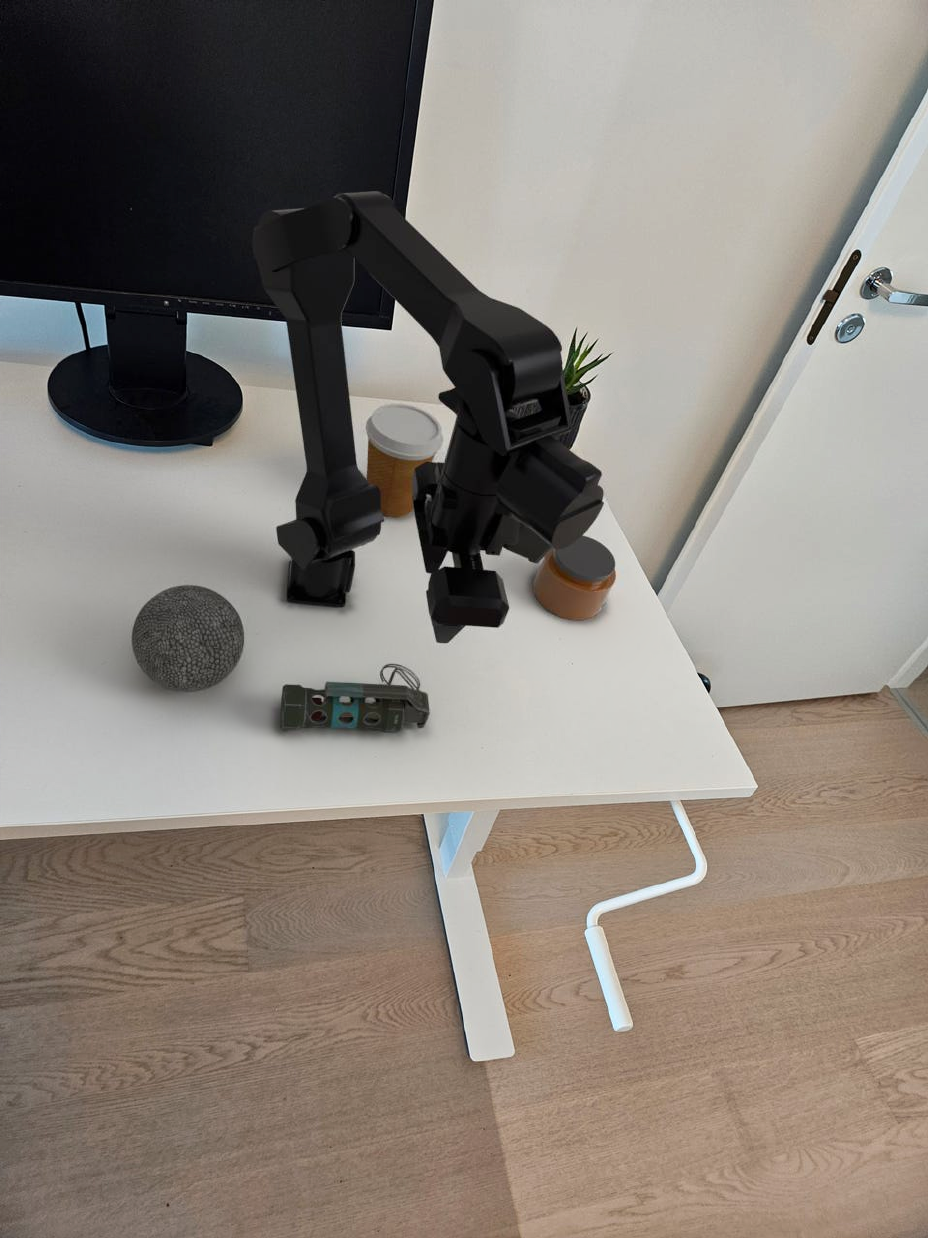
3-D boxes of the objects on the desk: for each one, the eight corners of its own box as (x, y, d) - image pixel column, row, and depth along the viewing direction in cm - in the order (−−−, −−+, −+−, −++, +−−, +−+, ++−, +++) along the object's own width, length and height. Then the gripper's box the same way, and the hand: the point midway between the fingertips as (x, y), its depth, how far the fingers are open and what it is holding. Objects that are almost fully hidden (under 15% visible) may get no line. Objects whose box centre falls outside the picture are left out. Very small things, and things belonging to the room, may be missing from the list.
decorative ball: (183, 619, 84) (183, 548, 77) (262, 666, 82) (269, 597, 75) (110, 678, 77) (102, 605, 70) (195, 731, 75) (195, 661, 68)
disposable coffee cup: (384, 470, 110) (401, 393, 102) (439, 506, 107) (460, 430, 99) (337, 496, 104) (350, 416, 95) (394, 535, 101) (413, 456, 93)
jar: (539, 616, 97) (556, 577, 93) (527, 565, 103) (543, 526, 99) (608, 623, 99) (628, 585, 95) (593, 573, 105) (611, 535, 101)
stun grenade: (279, 741, 77) (423, 744, 81) (284, 705, 72) (436, 711, 76) (281, 686, 81) (418, 692, 84) (285, 649, 76) (431, 657, 80)
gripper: (595, 560, 62) (534, 686, 73) (546, 421, 75) (500, 547, 85) (455, 547, 59) (413, 681, 70) (428, 405, 72) (396, 537, 82)
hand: (436, 605), depth 77 cm, fingers open, 9 cm apart
